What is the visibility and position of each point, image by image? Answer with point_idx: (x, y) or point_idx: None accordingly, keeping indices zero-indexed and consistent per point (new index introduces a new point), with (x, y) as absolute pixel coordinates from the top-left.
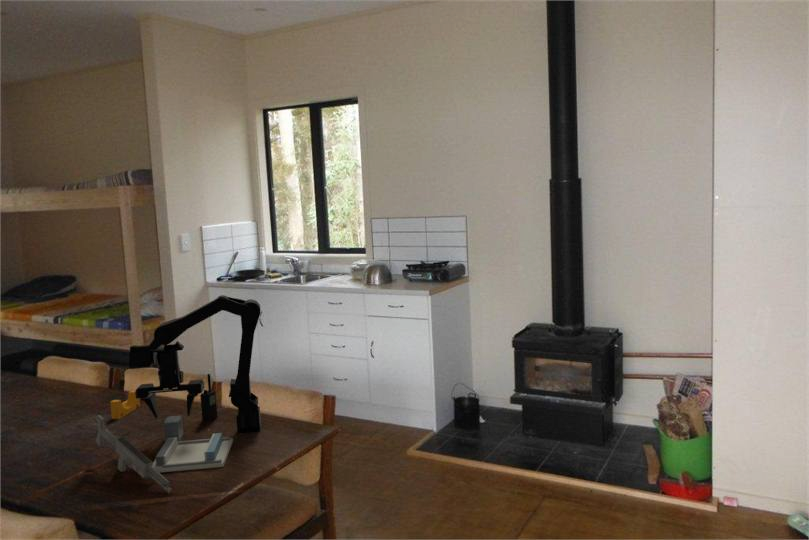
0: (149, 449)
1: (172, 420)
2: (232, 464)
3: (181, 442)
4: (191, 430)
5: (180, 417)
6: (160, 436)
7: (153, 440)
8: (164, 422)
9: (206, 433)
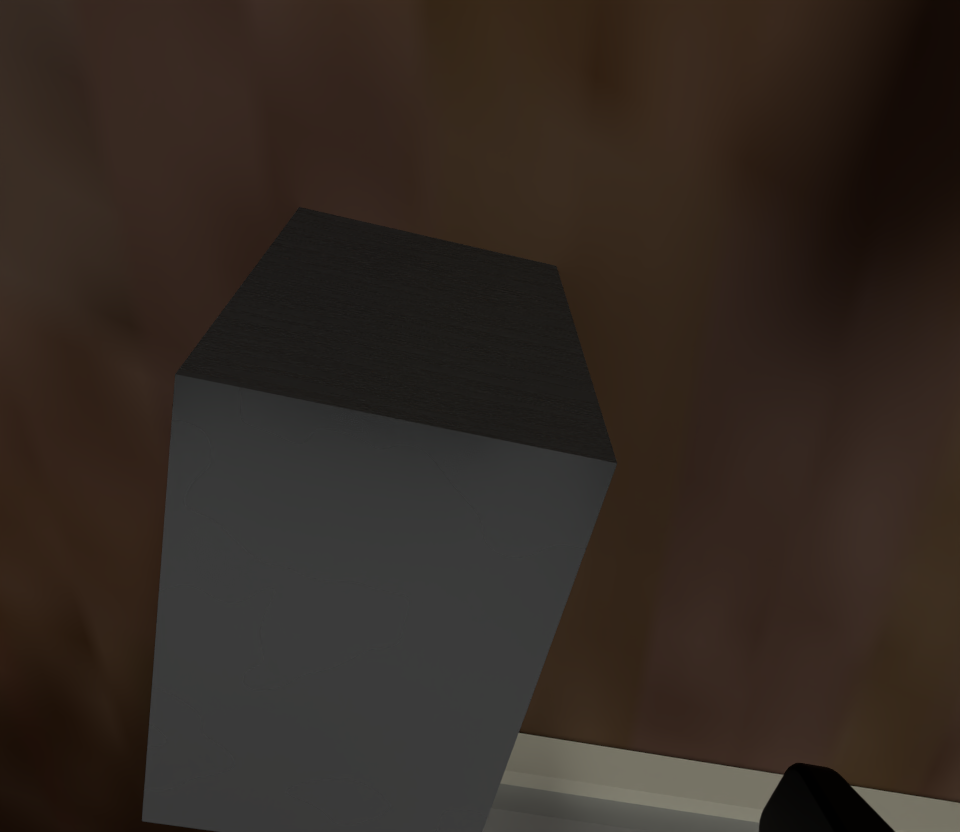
0: (65, 672)
1: (347, 740)
2: None
3: (501, 830)
4: (732, 101)
5: (559, 618)
6: (112, 176)
7: (24, 341)
8: (159, 791)
9: (932, 409)
